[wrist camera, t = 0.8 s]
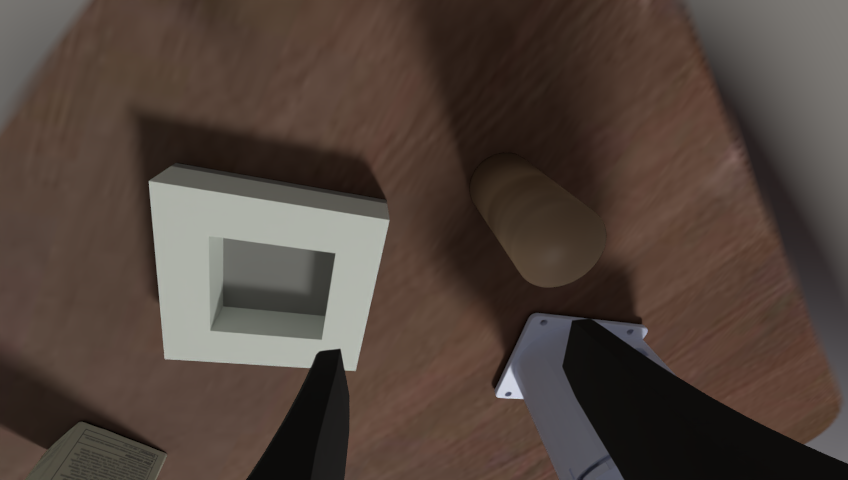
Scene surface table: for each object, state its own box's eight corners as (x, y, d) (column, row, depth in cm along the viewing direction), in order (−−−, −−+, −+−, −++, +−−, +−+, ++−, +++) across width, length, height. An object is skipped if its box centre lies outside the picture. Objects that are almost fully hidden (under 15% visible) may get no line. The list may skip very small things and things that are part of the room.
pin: (543, 160, 20) (623, 214, 14) (519, 219, 21) (581, 292, 15) (481, 146, 19) (537, 197, 13) (461, 209, 21) (502, 281, 14)
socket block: (386, 199, 20) (389, 220, 17) (356, 340, 24) (355, 370, 22) (175, 162, 17) (148, 180, 15) (184, 326, 22) (164, 358, 19)
